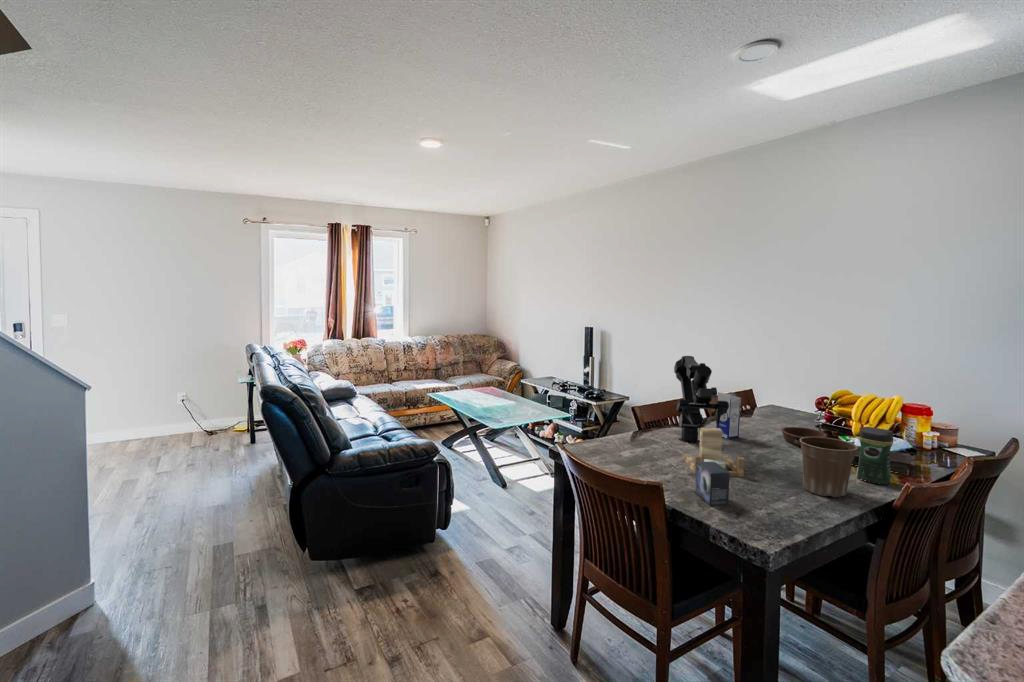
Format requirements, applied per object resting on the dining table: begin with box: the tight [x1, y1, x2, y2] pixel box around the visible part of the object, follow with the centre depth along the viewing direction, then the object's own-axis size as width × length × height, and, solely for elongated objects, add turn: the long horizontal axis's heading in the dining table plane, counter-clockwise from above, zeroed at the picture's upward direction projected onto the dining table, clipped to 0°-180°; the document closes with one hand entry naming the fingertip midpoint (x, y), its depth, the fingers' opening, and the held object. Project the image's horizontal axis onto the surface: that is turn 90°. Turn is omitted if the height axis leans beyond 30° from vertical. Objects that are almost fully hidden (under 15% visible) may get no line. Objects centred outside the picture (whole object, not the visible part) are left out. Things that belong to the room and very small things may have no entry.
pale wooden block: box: [698, 427, 723, 462], centre depth 196 cm, size 4×7×14 cm, turn 84°
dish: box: [780, 426, 827, 447], centre depth 230 cm, size 18×22×5 cm
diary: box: [852, 445, 912, 474], centre depth 203 cm, size 19×25×5 cm
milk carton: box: [715, 391, 742, 440], centre depth 236 cm, size 7×7×20 cm
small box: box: [695, 461, 731, 507], centre depth 165 cm, size 11×6×10 cm, turn 5°
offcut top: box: [704, 459, 727, 468], centre depth 189 cm, size 4×7×2 cm, turn 72°
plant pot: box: [800, 437, 858, 498], centre depth 172 cm, size 16×16×16 cm
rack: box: [684, 454, 745, 478], centre depth 192 cm, size 17×16×7 cm
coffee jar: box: [856, 425, 894, 485], centre depth 183 cm, size 10×8×19 cm
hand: (705, 425), depth 203 cm, fingers open, 9 cm apart
